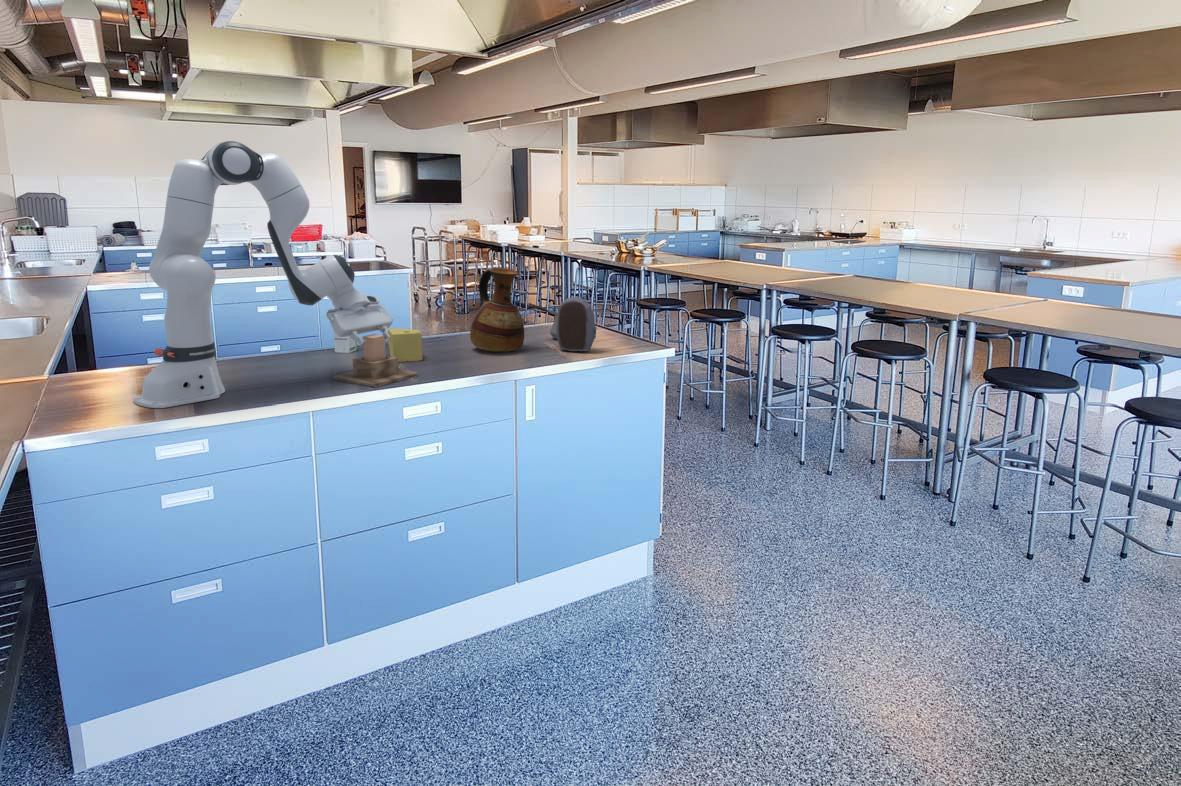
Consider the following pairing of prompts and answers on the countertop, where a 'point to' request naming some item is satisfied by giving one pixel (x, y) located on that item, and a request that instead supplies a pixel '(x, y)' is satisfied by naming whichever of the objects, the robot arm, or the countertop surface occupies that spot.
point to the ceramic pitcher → (497, 315)
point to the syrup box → (344, 344)
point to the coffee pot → (553, 328)
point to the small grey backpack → (575, 325)
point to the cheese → (405, 344)
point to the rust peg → (374, 348)
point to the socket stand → (375, 372)
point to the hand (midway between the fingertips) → (375, 341)
